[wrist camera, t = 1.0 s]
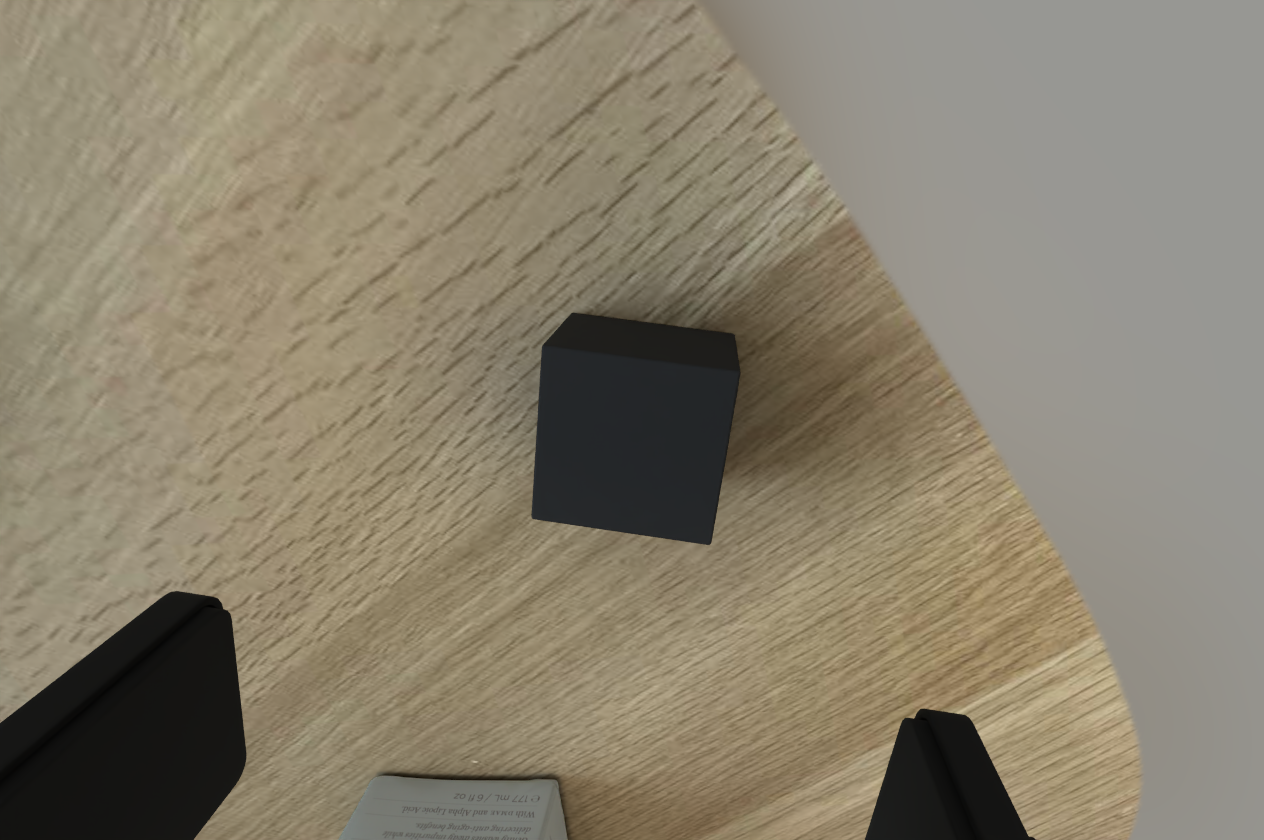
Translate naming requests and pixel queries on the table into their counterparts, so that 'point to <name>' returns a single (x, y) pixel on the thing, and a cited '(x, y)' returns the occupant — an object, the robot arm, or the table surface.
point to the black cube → (634, 426)
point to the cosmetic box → (457, 810)
